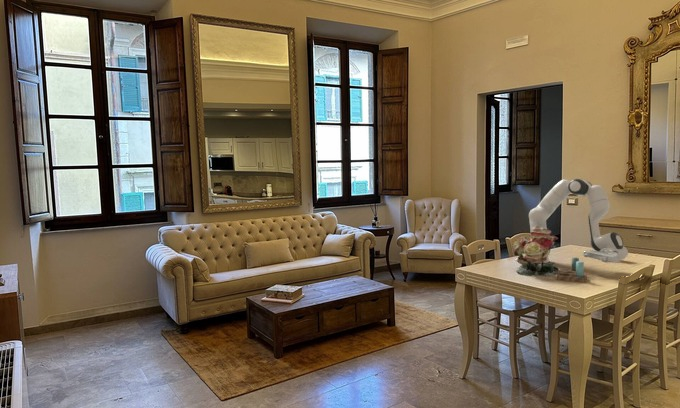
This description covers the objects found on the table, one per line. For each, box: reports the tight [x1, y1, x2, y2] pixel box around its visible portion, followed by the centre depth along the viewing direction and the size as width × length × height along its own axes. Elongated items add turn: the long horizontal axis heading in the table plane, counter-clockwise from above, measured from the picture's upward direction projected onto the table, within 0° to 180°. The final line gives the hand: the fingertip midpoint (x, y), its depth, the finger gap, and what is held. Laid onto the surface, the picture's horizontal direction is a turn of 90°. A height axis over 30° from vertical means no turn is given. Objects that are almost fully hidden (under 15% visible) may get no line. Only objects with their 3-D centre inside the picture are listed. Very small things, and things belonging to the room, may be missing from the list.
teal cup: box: [558, 257, 580, 274], centre depth 298 cm, size 12×7×10 cm, turn 61°
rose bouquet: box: [510, 226, 560, 277], centre depth 305 cm, size 26×29×30 cm
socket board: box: [556, 271, 588, 284], centre depth 286 cm, size 16×10×2 cm, turn 61°
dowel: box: [576, 260, 585, 277], centre depth 283 cm, size 4×4×11 cm
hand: (592, 257), depth 290 cm, fingers open, 8 cm apart
